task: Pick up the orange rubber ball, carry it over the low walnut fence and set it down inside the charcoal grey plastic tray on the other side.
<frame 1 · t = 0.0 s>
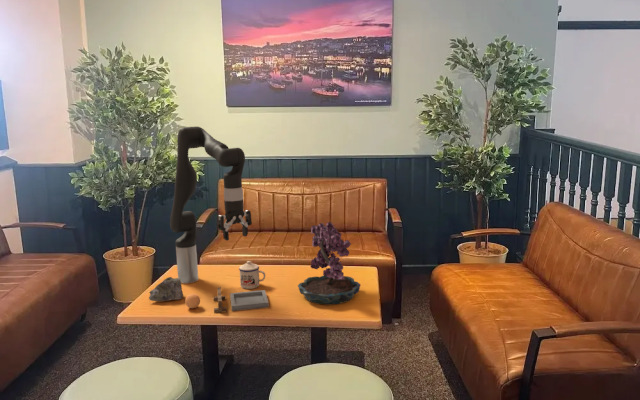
hand: (235, 238, 220), 29 cm above the table, fingers open, 8 cm apart
ball: (192, 301, 225), point 3 cm above the table
mineral rock: (167, 299, 236), on the table
tray: (249, 302, 230), on the table
teacup with lid: (253, 286, 249), on the table
bonsai tree: (329, 294, 237), on the table
fence: (220, 305, 227), on the table
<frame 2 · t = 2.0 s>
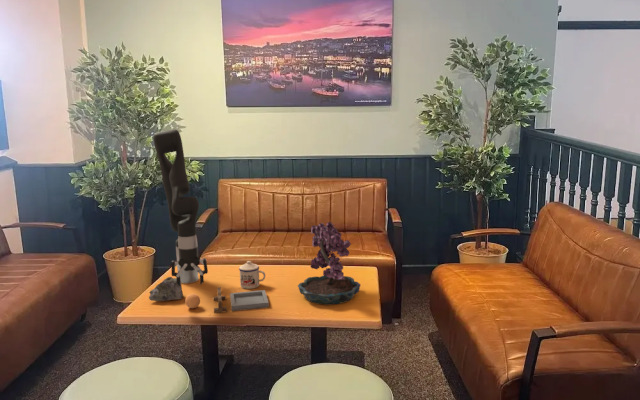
hand: (190, 284, 223), 10 cm above the table, fingers open, 8 cm apart
nothing on the table moved.
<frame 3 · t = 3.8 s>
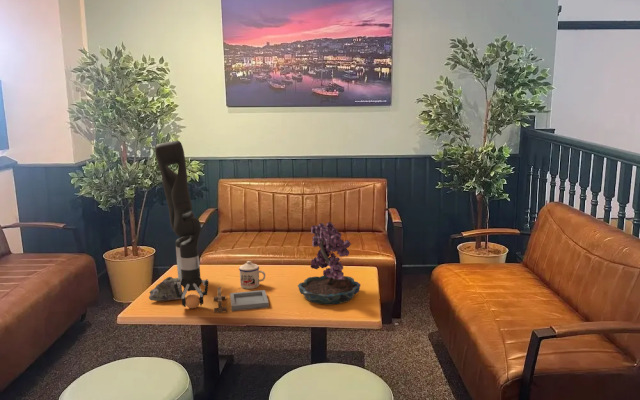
hand: (193, 305, 225), 1 cm above the table, fingers closed on ball, 6 cm apart
ball: (192, 301, 225), point 3 cm above the table, touching gripper
everything else where it was.
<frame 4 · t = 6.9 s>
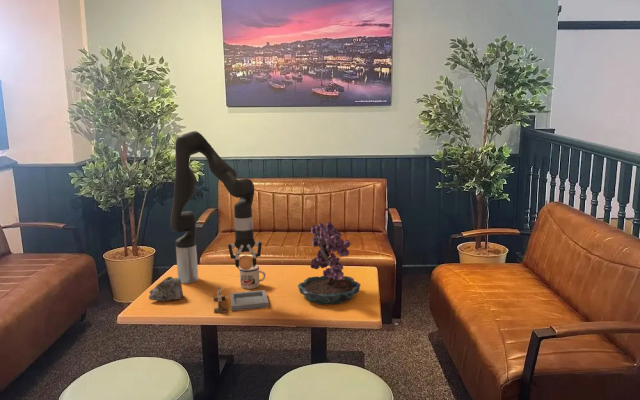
hand: (246, 266, 226), 16 cm above the table, fingers closed on ball, 6 cm apart
ball: (245, 262, 226), point 18 cm above the table, touching gripper
everything else where it was.
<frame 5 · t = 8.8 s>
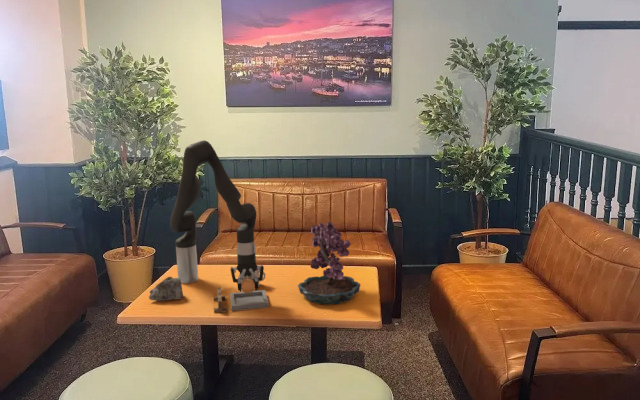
hand: (248, 290, 228), 5 cm above the table, fingers closed on ball, 6 cm apart
ball: (248, 286, 228), point 7 cm above the table, touching gripper
everything else where it was.
when the fingers open (4 cm above the table, at t = 10.2 s): ball drops 2 cm, resting on tray.
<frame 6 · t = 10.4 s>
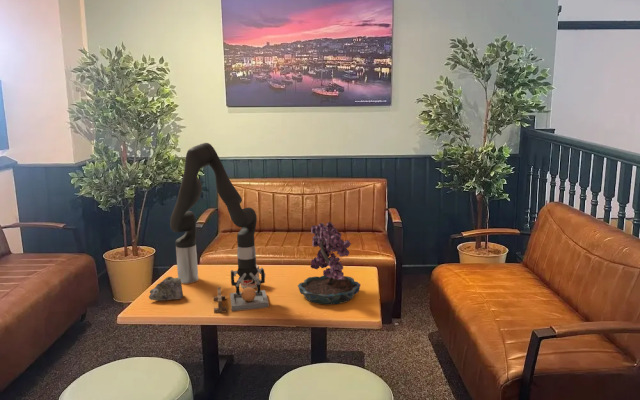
hand: (248, 293, 229), 4 cm above the table, fingers open, 7 cm apart
ball: (248, 294, 229), point 4 cm above the table, touching tray
everything else where it was.
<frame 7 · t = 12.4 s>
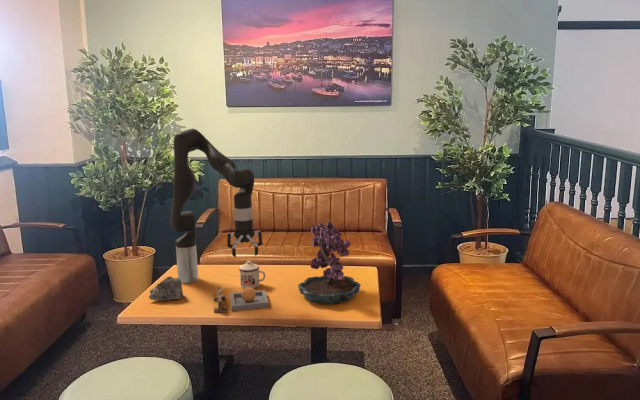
hand: (245, 256, 226), 20 cm above the table, fingers open, 8 cm apart
nothing on the table moved.
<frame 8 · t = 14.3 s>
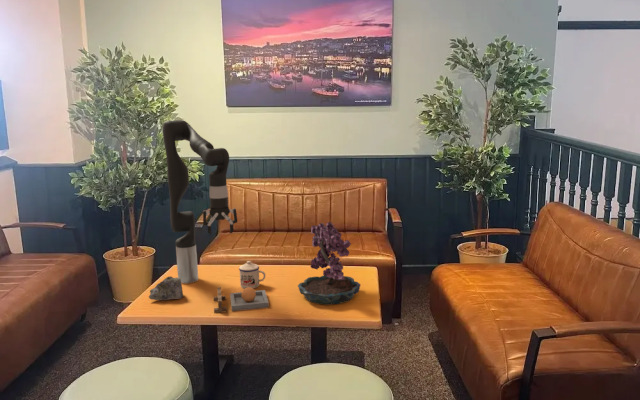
hand: (221, 233, 232), 28 cm above the table, fingers open, 8 cm apart
nothing on the table moved.
at the end: ball inside the target area on the tray (0.1 cm from its centre), point 3.6 cm above the tray's base; the gripper is holding nothing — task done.
